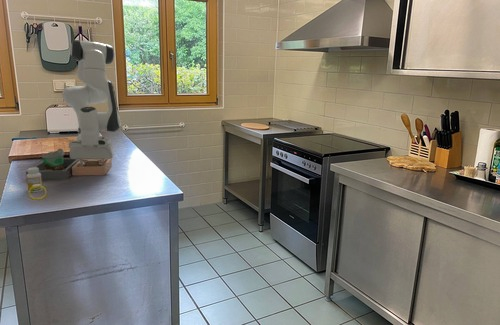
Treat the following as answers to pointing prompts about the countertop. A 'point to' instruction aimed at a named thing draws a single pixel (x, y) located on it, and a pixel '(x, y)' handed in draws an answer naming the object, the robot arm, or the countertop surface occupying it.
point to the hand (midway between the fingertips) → (93, 167)
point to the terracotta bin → (92, 168)
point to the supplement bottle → (34, 179)
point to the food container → (53, 160)
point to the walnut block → (92, 163)
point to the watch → (36, 187)
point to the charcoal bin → (57, 174)
